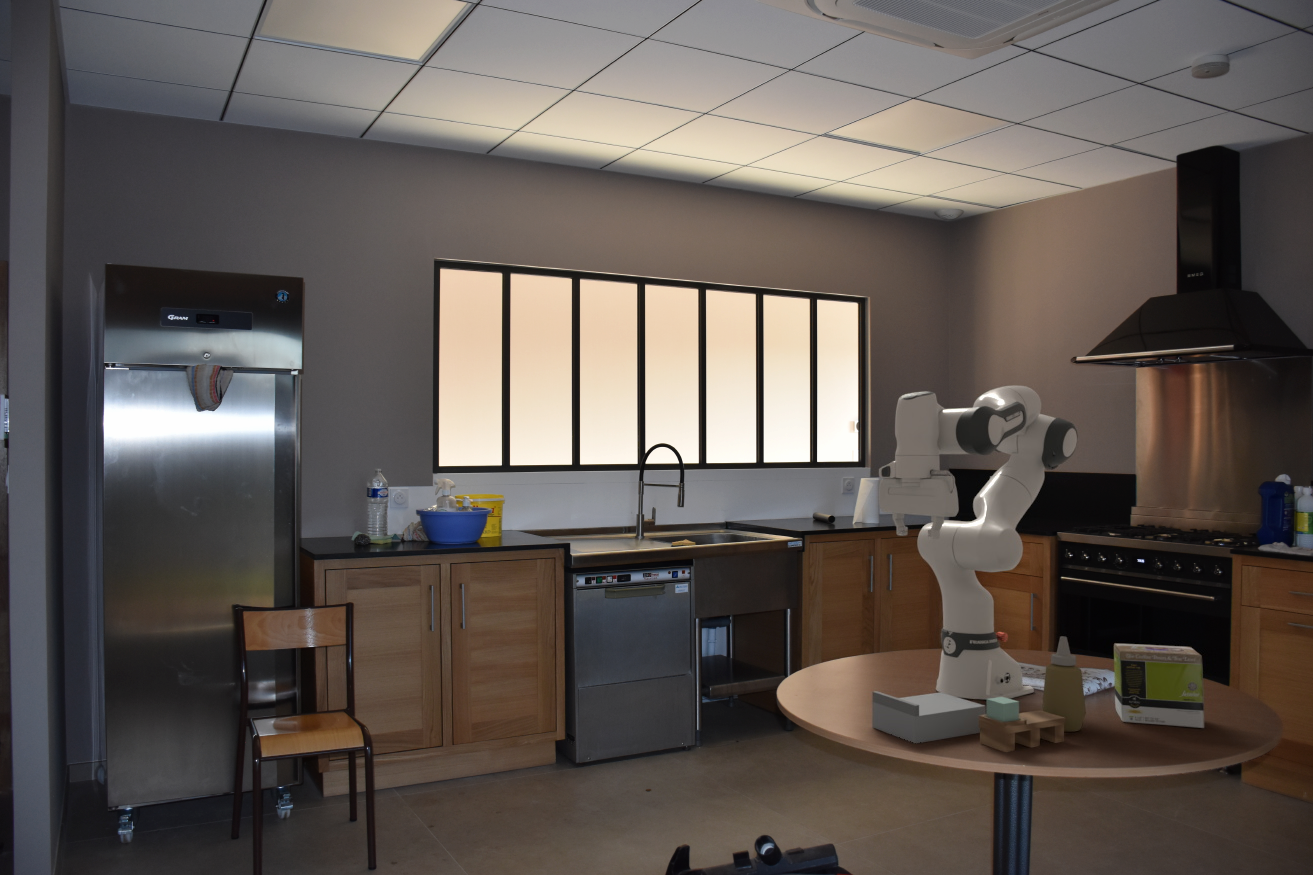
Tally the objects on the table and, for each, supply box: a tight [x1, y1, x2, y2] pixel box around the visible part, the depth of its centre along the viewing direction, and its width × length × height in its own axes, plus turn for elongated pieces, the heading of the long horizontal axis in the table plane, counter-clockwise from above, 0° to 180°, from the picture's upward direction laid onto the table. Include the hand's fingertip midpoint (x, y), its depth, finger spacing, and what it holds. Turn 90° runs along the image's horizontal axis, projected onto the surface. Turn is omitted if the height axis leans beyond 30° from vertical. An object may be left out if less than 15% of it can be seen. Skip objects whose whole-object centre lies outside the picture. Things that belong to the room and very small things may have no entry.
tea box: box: [1113, 642, 1205, 729], centre depth 192 cm, size 15×10×15 cm, turn 71°
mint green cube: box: [986, 697, 1020, 722], centre depth 173 cm, size 4×4×4 cm
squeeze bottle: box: [1041, 636, 1087, 732], centre depth 185 cm, size 8×8×18 cm
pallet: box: [979, 709, 1065, 753], centre depth 176 cm, size 16×6×5 cm, turn 117°
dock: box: [871, 690, 987, 744], centre depth 184 cm, size 18×12×7 cm, turn 117°
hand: (917, 536), depth 192 cm, fingers open, 8 cm apart
